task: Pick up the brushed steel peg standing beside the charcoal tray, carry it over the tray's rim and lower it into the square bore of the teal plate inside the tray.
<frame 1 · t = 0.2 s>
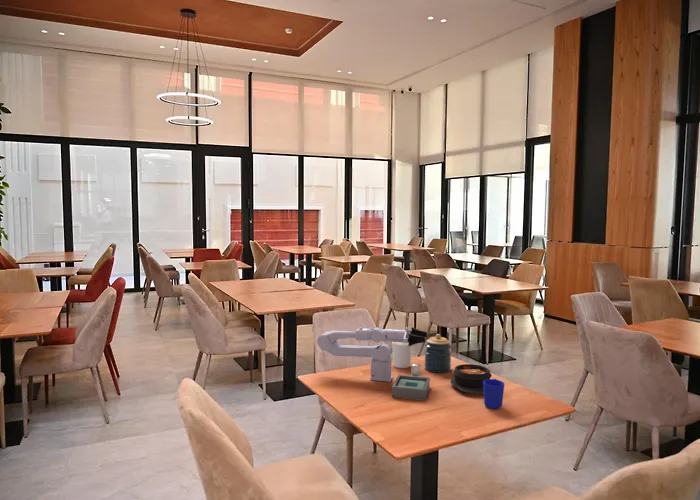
hand: (425, 337, 227), 21 cm above the table, tool horizontal, fingers open, 7 cm apart
canister: (437, 369, 249), on the table
peg: (415, 381, 230), on the table
candle holder: (401, 366, 254), on the table
mug: (493, 405, 203), on the table
tray: (411, 392, 216), on the table
casserole: (471, 387, 224), on the table
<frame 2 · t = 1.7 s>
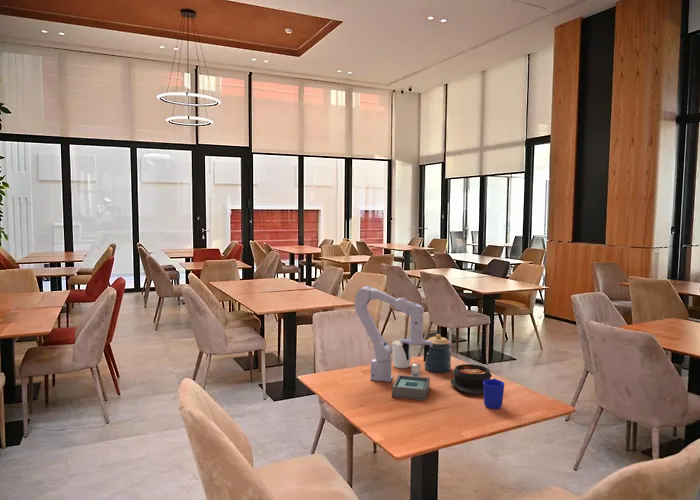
hand: (416, 360, 229), 10 cm above the table, tool pointing down, fingers open, 7 cm apart
nothing on the table moved.
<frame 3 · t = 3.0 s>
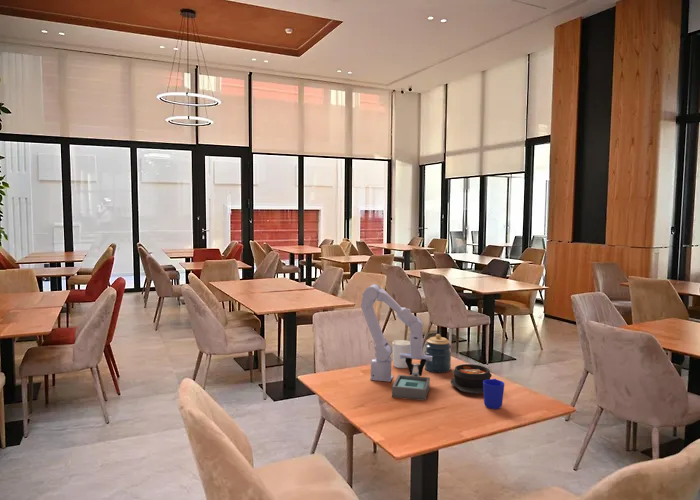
hand: (415, 374, 230), 3 cm above the table, tool pointing down, fingers closed on peg, 4 cm apart
peg: (415, 381, 230), on the table, touching gripper
everything else where it was.
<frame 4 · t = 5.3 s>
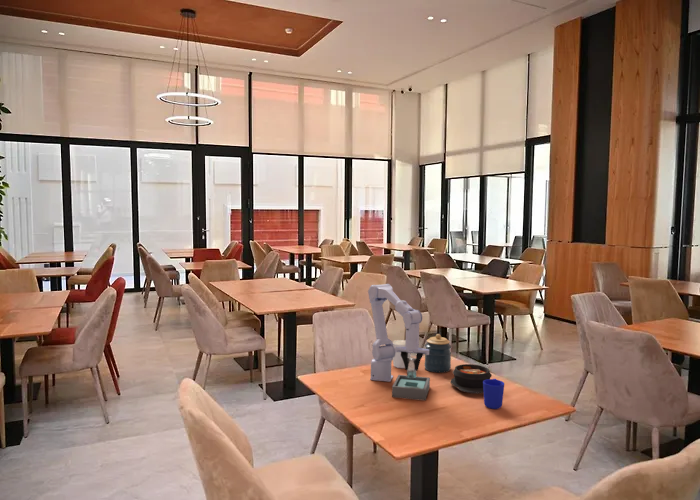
hand: (411, 369, 216), 10 cm above the table, tool pointing down, fingers closed on peg, 4 cm apart
peg: (411, 376, 216), point 7 cm above the table, touching gripper
everything else where it was.
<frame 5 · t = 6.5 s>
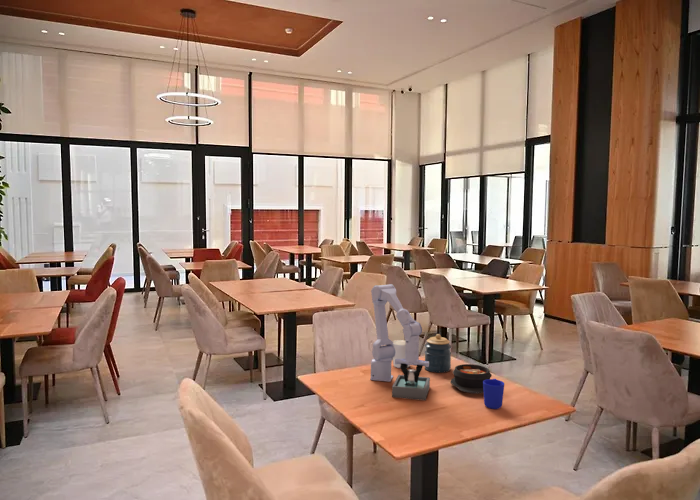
hand: (411, 381, 216), 5 cm above the table, tool pointing down, fingers closed on peg, 4 cm apart
peg: (411, 388, 217), point 1 cm above the table, touching gripper
everything else where it was.
when the fingers open (5 cm above the table, at t = 7.5 s): peg stays where it is, resting on tray.
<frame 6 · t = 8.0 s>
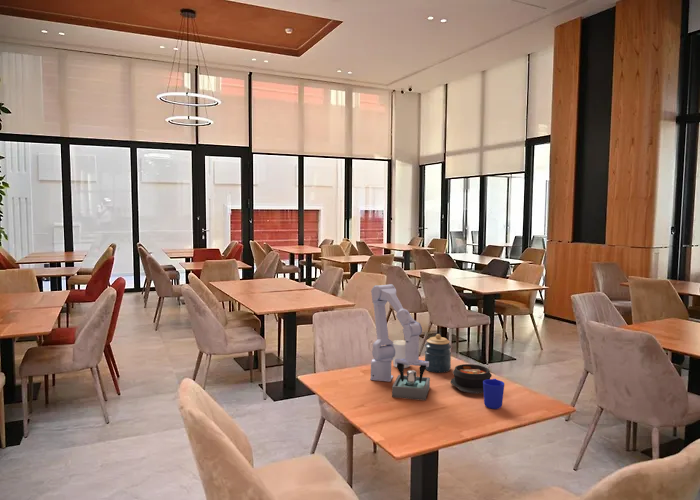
hand: (411, 381, 216), 5 cm above the table, tool pointing down, fingers open, 7 cm apart
peg: (411, 389, 217), point 1 cm above the table, touching tray
everything else where it was.
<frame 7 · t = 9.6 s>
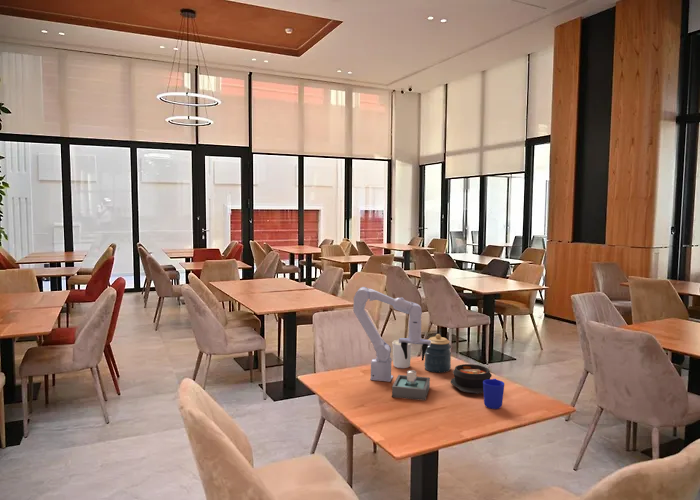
hand: (414, 359, 231), 10 cm above the table, tool pointing down, fingers open, 7 cm apart
nothing on the table moved.
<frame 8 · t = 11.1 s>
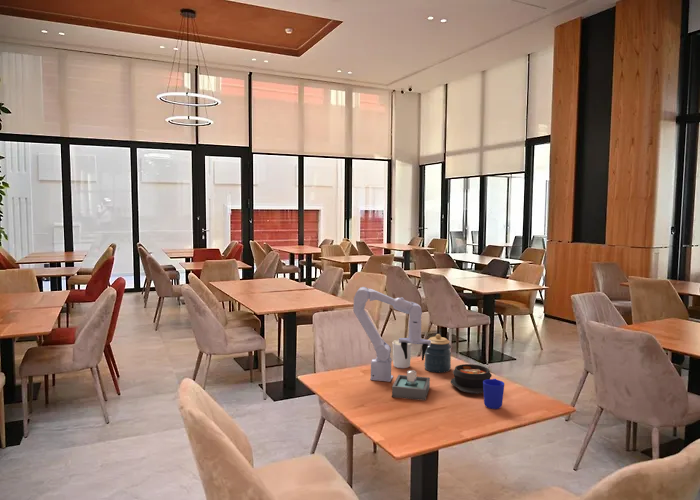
hand: (414, 359, 231), 10 cm above the table, tool pointing down, fingers open, 7 cm apart
nothing on the table moved.
at the end: peg 0.2 cm off-centre on the tray, point 1.0 cm above the tray's base; peg tilted 0°; the gripper is holding nothing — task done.
